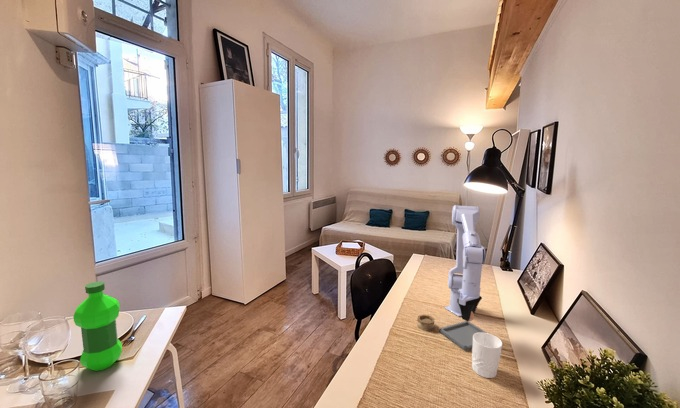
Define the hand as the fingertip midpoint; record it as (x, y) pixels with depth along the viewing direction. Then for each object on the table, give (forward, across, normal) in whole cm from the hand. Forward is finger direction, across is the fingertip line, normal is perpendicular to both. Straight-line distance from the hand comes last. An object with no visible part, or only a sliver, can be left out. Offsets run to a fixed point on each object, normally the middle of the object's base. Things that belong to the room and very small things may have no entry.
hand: (467, 317), depth 107 cm
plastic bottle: (+8, +93, -71) cm, 117 cm away
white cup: (+8, +14, +11) cm, 19 cm away
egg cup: (+7, +4, -14) cm, 16 cm away
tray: (+7, 0, 0) cm, 7 cm away
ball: (+1, 0, 0) cm, 1 cm away
